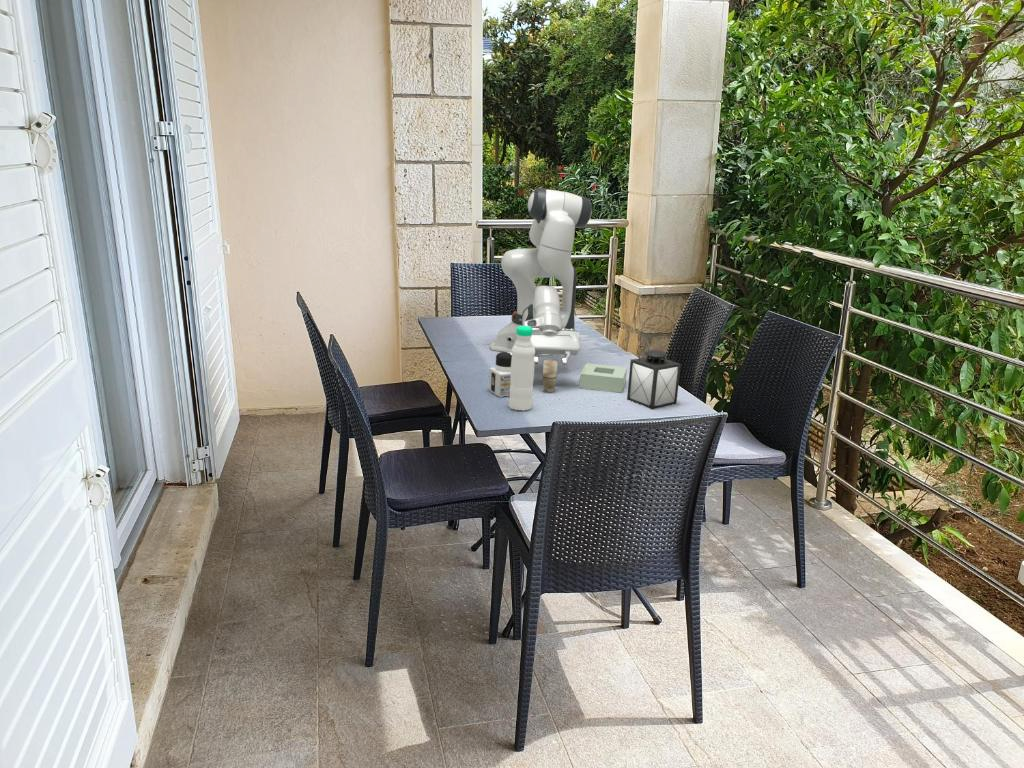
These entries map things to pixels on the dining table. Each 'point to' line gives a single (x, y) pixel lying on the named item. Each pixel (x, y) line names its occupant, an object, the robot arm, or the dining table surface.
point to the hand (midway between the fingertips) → (550, 364)
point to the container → (501, 375)
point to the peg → (549, 375)
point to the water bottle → (522, 370)
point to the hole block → (603, 377)
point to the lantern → (653, 379)
